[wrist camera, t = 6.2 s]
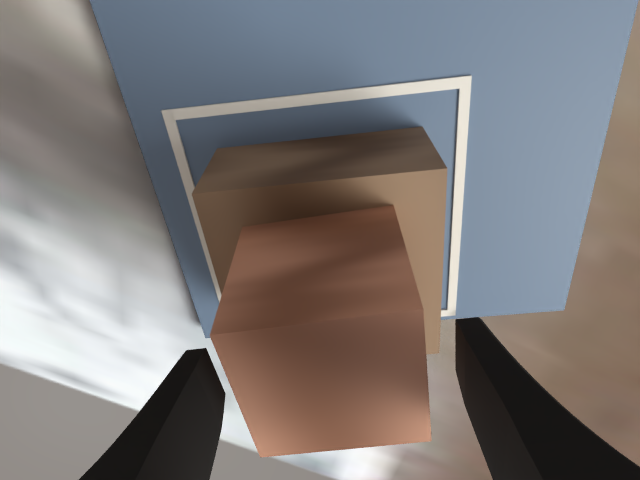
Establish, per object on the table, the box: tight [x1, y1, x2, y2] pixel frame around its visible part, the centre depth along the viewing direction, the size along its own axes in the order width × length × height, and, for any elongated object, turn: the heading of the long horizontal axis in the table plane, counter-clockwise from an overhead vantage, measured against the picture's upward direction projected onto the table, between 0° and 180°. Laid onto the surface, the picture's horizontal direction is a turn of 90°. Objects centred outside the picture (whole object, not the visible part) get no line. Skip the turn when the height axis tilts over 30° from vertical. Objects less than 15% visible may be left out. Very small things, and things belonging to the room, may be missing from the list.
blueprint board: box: [90, 0, 638, 338], centre depth 18 cm, size 18×16×1 cm
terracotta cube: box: [210, 205, 431, 457], centre depth 14 cm, size 5×5×5 cm
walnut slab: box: [192, 127, 447, 354], centre depth 18 cm, size 8×8×4 cm
